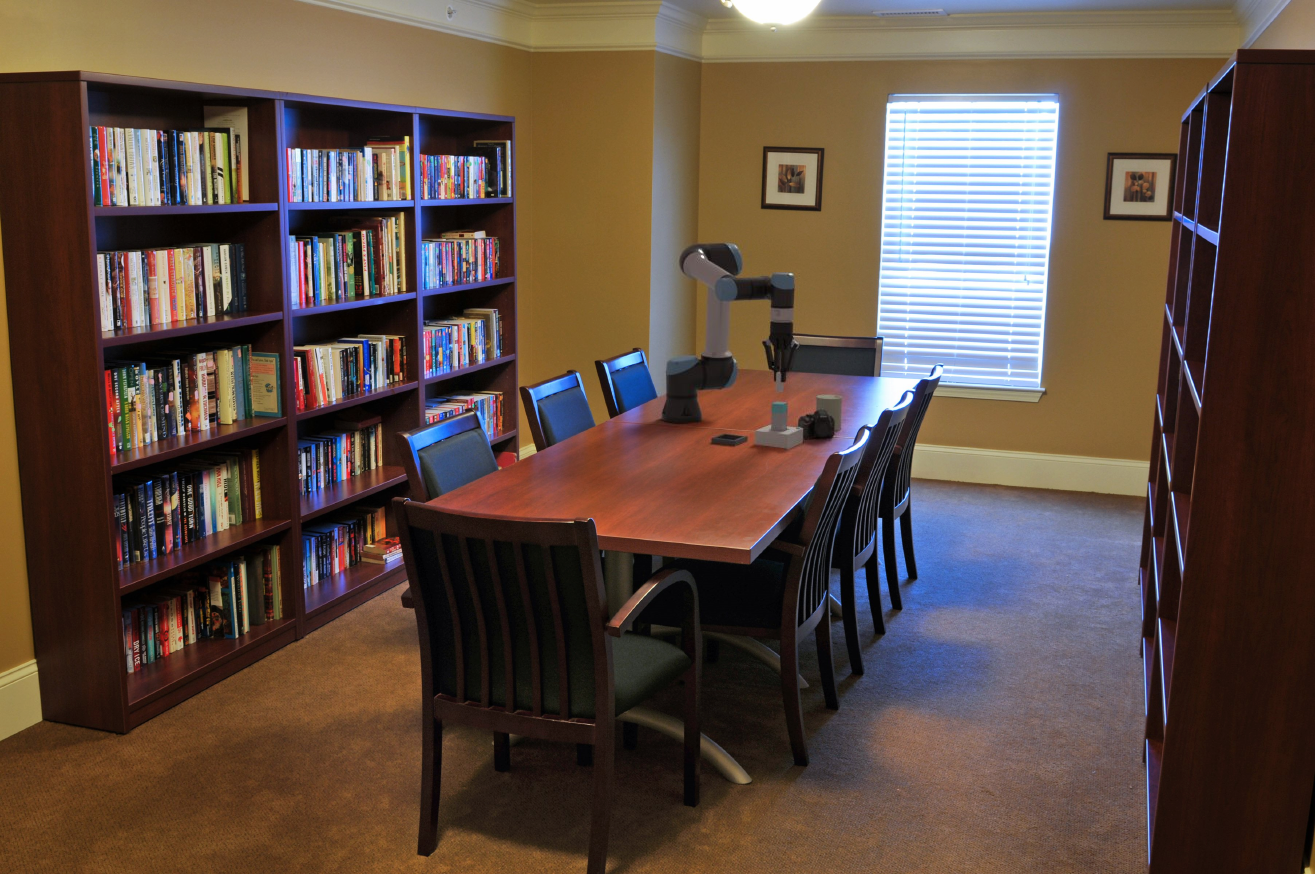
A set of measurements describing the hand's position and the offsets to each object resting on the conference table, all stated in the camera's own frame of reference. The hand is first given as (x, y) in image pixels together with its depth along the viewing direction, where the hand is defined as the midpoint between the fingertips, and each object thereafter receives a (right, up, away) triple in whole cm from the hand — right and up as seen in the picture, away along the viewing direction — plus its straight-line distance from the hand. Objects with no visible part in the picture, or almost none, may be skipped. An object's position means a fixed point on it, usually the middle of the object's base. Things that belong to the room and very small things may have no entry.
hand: (779, 391), depth 366 cm
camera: (+15, -16, +14) cm, 25 cm away
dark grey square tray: (-16, -17, +5) cm, 24 cm away
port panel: (0, -17, +3) cm, 18 cm away
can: (+21, -12, +29) cm, 38 cm away
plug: (0, -16, +3) cm, 17 cm away
